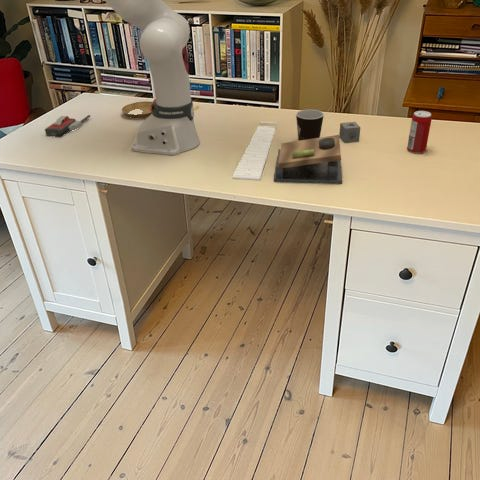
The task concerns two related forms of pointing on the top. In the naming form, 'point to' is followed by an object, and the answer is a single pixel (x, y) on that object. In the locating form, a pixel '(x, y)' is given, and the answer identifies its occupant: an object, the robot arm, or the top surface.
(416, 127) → the soda can
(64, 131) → the toy chainsaw
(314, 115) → the coffee mug
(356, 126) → the dice cube
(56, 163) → the top surface
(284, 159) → the levelling board
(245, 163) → the keyboard
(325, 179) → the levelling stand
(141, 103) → the plant saucer
